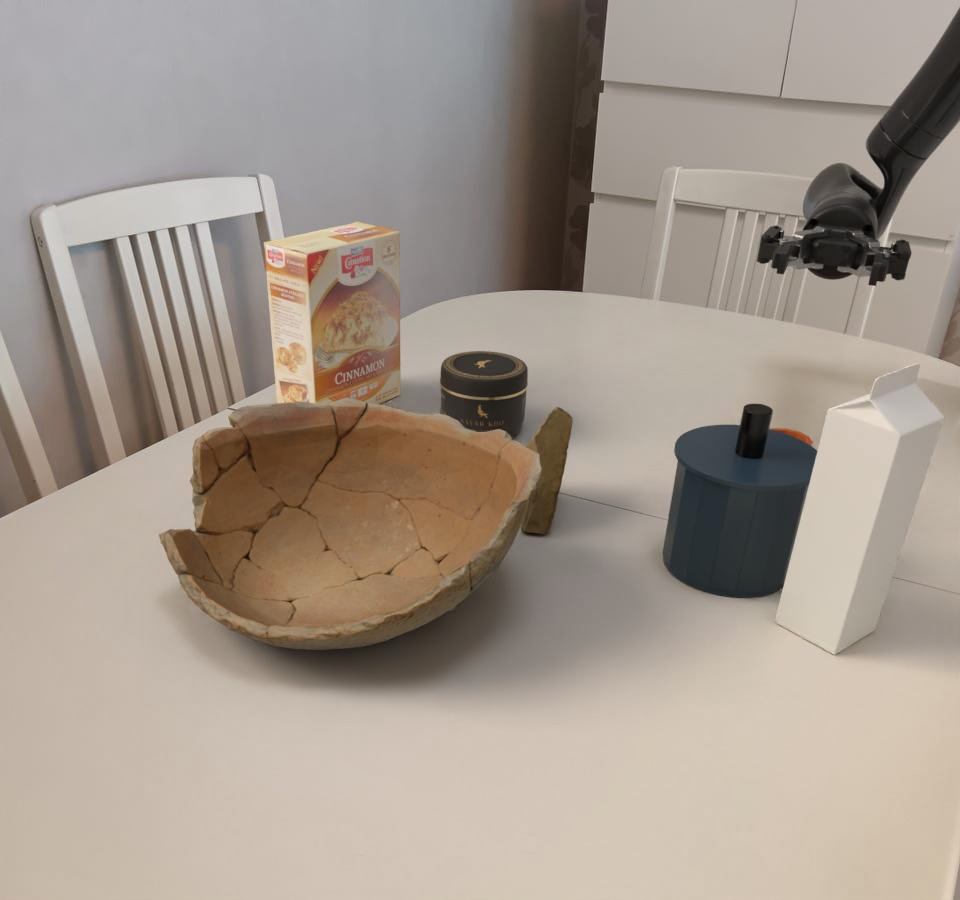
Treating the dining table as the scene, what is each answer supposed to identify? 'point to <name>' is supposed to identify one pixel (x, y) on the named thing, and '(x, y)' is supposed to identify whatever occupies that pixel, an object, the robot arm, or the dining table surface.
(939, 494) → the dining table surface
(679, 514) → the pot
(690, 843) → the dining table surface
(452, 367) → the jar
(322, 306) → the coffeecake box
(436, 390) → the dining table surface
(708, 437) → the pot lid
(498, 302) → the dining table surface
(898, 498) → the milk
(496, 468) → the ceramic bowl
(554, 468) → the rock
